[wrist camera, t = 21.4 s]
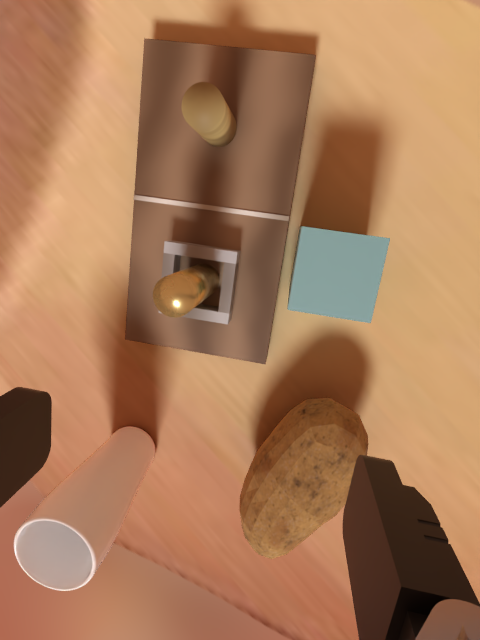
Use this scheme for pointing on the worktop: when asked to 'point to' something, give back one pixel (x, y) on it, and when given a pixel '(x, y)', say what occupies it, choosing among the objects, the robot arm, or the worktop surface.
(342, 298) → the block
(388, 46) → the worktop surface
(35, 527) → the drinking glass
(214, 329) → the board
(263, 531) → the potato
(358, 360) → the worktop surface
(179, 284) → the pin
